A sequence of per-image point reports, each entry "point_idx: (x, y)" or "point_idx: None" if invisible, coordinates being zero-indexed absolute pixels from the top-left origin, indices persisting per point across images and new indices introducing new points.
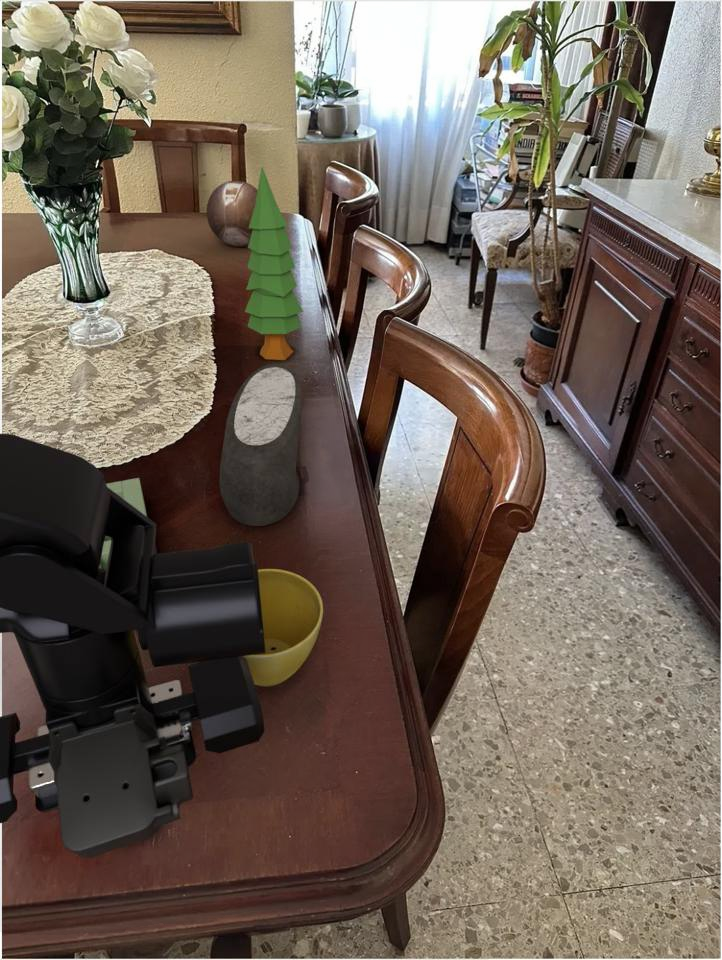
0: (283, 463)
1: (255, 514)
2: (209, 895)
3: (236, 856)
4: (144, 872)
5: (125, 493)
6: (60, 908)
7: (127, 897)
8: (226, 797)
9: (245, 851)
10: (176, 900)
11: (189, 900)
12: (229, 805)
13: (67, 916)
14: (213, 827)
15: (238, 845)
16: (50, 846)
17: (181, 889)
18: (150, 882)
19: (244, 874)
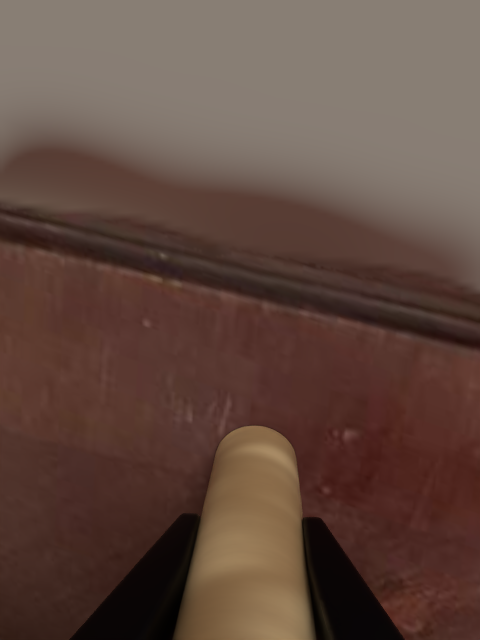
0: None
1: None
2: (101, 233)
3: (32, 304)
4: (255, 342)
5: None
6: (467, 326)
7: (302, 297)
8: (52, 446)
9: (11, 308)
10: (183, 248)
11: (151, 237)
12: (46, 426)
13: (453, 301)
14: (85, 389)
15: (27, 328)
16: (470, 476)
17: (169, 271)
18: (243, 313)
19: (14, 254)
